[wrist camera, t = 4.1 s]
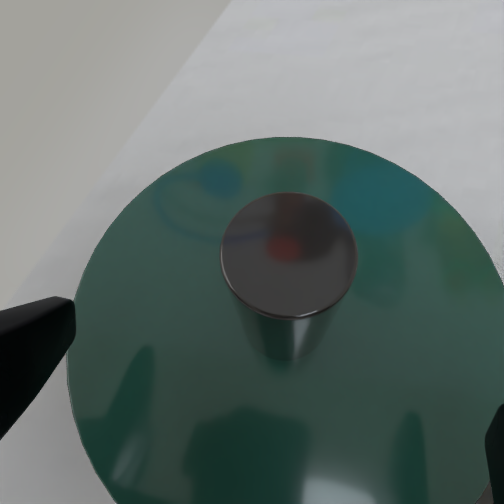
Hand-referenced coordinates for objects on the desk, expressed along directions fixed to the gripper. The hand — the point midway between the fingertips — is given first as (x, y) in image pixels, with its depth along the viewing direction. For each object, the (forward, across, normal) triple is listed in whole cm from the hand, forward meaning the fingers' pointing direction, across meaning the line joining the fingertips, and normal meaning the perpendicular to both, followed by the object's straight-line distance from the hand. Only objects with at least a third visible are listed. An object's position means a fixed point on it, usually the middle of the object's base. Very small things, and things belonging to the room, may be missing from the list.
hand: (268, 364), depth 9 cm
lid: (+4, 0, +1) cm, 4 cm away
